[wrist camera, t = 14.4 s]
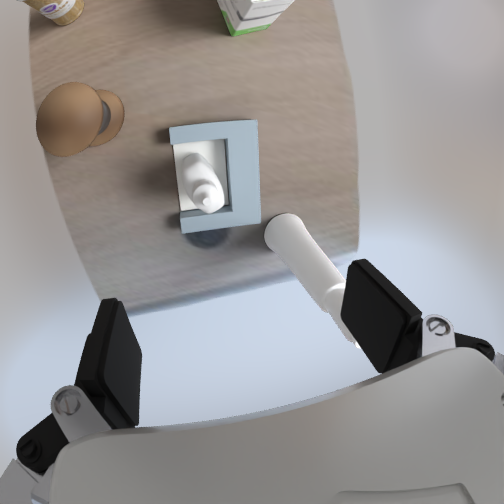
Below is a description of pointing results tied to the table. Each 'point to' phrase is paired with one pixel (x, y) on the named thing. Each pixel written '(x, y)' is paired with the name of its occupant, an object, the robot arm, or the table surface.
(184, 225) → the notched board
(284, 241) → the cosmetic bottle
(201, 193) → the eye dropper bottle
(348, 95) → the table surface
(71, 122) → the spool
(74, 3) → the sprinkles bottle
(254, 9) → the ink box
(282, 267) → the table surface
